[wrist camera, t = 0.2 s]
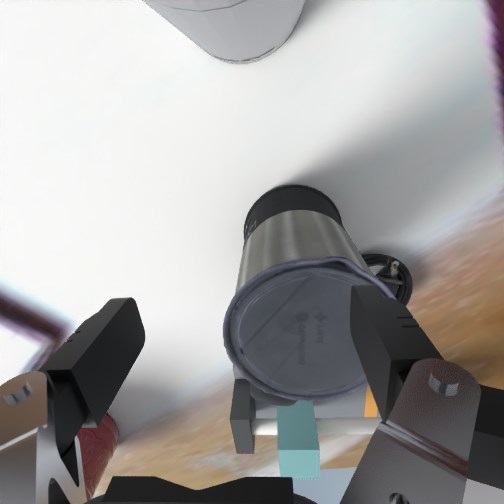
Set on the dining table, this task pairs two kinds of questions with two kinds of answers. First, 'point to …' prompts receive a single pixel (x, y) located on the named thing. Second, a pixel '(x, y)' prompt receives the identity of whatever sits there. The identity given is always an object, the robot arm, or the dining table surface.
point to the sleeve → (298, 441)
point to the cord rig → (326, 412)
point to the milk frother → (301, 299)
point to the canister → (96, 452)
